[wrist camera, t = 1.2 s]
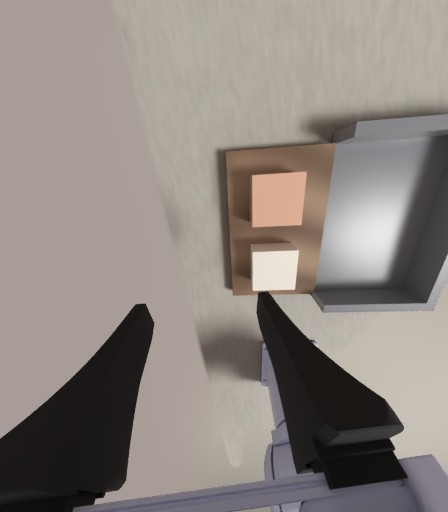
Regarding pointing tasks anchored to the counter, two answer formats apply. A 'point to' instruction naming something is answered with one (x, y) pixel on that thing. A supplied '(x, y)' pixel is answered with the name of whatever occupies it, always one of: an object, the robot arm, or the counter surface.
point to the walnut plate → (302, 236)
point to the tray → (386, 217)
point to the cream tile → (273, 266)
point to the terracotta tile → (277, 199)
